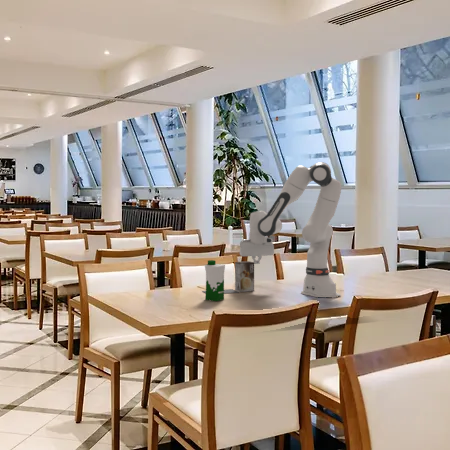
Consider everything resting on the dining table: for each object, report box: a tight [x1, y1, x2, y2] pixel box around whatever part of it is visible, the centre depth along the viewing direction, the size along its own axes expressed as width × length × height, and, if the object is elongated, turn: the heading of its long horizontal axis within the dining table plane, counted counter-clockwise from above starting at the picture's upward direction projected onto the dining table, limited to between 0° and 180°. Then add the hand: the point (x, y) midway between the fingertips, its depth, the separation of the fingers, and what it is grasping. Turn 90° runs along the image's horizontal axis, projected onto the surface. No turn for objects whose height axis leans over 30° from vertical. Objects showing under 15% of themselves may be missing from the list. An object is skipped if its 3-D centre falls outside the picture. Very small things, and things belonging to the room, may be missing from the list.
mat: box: [201, 288, 240, 295], centre depth 321 cm, size 10×18×1 cm, turn 113°
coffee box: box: [234, 260, 255, 293], centre depth 326 cm, size 9×6×16 cm
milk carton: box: [204, 259, 226, 302], centre depth 298 cm, size 9×9×20 cm
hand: (256, 263), depth 328 cm, fingers closed
